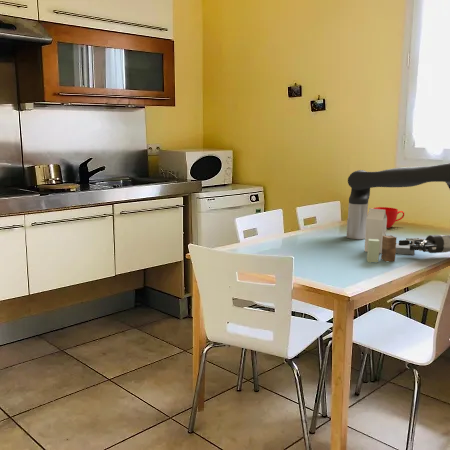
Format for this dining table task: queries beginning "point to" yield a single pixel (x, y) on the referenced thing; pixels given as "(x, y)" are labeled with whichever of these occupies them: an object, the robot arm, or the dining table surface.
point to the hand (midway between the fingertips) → (404, 245)
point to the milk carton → (375, 226)
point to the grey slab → (404, 249)
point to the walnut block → (388, 248)
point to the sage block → (373, 250)
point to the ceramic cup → (391, 215)
